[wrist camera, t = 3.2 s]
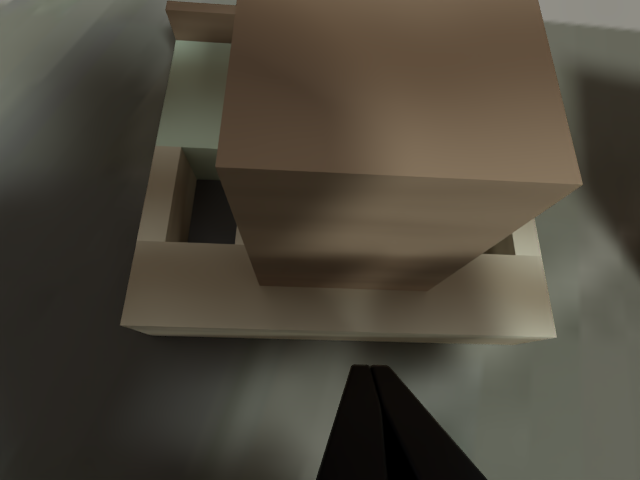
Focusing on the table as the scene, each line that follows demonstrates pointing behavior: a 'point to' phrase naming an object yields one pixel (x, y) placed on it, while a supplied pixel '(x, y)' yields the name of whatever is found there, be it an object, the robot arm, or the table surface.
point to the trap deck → (233, 261)
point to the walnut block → (388, 137)
